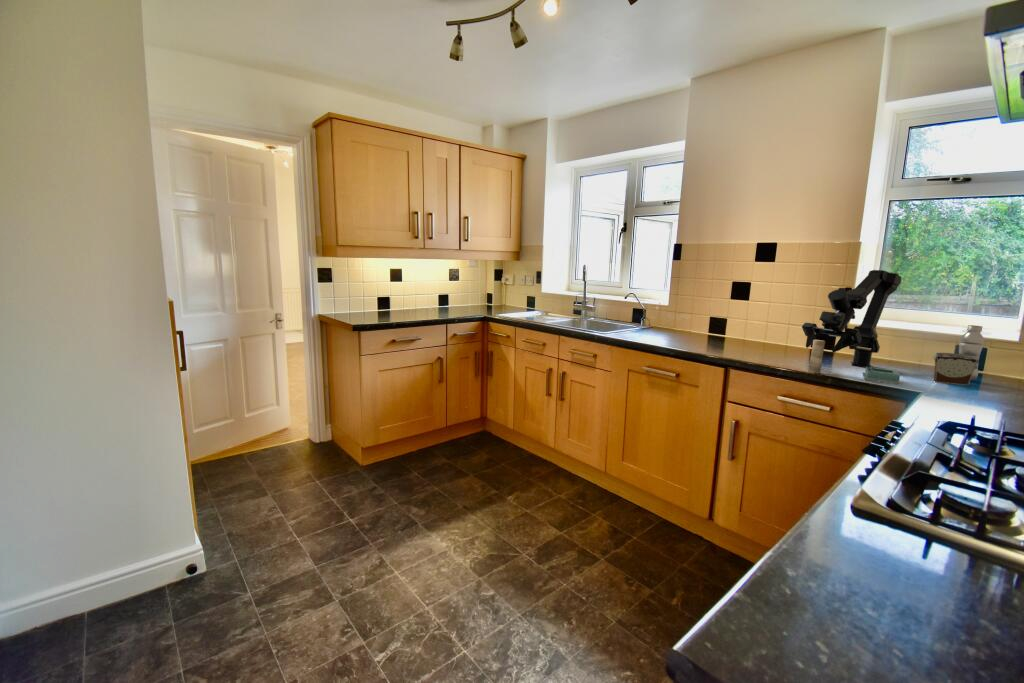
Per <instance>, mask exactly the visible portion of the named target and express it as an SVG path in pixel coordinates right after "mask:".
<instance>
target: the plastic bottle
mask: <svg viewBox="0 0 1024 683" xmlns="http://www.w3.org/2000/svg"><path fill="white" fill-rule="evenodd" d="M966 331H967V332H965V333H964V334H963V335H961V336H960V337H959V340H958V341H959V345H958V354H962V355H968V356H973V357H978V360H980V356H981V352H982V350H983V348H984V345H985V342H986V341H985V338H984V336H983V335H982V334H981V332H983V326H982V325H975V324H974V325H967V328H966ZM978 368H979V364H978V363H976V366H975V368H974V371H973V374H972V377H971V380H970V382H971V381H975V380H977V378H978V376H979V369H978Z"/></svg>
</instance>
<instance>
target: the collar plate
mask: <svg viewBox="0 0 1024 683" xmlns="http://www.w3.org/2000/svg"><path fill="white" fill-rule="evenodd" d="M862 374H863V375H862V377H863V379H866V380H865V381H868V380H872V381H871V382H876V381H880V382H879V383H883V382H886V383H885V384H890V383H894V384H893V385H897V384H901V385H902V381H901V380H900V377H901V374H900V373H899V372H898V371H897V370H896V369H895V370H894V369H889V368H882V367H881V368H880V367H873V366H872V367H865V372H862Z"/></svg>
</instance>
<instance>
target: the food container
mask: <svg viewBox="0 0 1024 683" xmlns="http://www.w3.org/2000/svg"><path fill="white" fill-rule="evenodd" d="M932 360H934V369H933V370H934V372H933V382H934V381H935V382H934V383H939V382H943V383H942V384H949V383H951V385H959V384H961V385H962V386H969V384H970V382H971V381H972V380H971V377H972V374H973V371H974V368H975V366H976V363H978V365H979V363H980V362H979V360H980V359H979V360H978V357H973V356H968V355H962V354H959V353H951V352H936V353H935V354H934V355H933V356H932ZM970 380H971V381H970Z"/></svg>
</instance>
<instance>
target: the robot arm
mask: <svg viewBox="0 0 1024 683" xmlns="http://www.w3.org/2000/svg"><path fill="white" fill-rule="evenodd" d="M901 283H902V276H901V275H899V273H897V272H888V271H886V270H883V269H873V270H869V272H868V275H866V276H865V278H864V279H862V281H861V282H860V283H859V284H858V285H856V287H854V288H853V289H849V290H847V289H846V288H845V287H839V288H838V289H834V290H833V291H831V292H829V293H828V295H827V299H828V300H829V303H830V306H831V309H833V310H834V312H833V311H822V312H821V313H820V316H819V321H821V322H822V323H821V326H822V327H818V326H817V323H815V322H804V323H803V324H802V326H801V328H802V332H803V333H804V335H805V337H806V342H805V348H806V349H808V348H810V347H811V345H813V340H817V338H818V336H819V335H820V334H821V335H826V336H827V335H828V336H829V337H837V338H839V340H838V341H837V342H836V344H835V345H834V347H833V348H832V351H831V352H832V353H836V352H838V351H841V350H842V349H845V348H847V347H848V348H849V350H854V351H853V358H852V361H850V365H851V364H852V365H851V366H855V365H856V366H857V367H863V366H864V367H865V368H866V367H873V366H872V364H871V361H872V355H873V353H874V354H875V353H876V354H878V353H879V351H880V348H881V346H880V343H879V340H878V337H879V336H878V333H877V331H876V330H877V326H878V323H879V320H880V318H881V316H882V313H883V310H884V308H885V305H886V303H887V302H888V298H889V296H890V295H892V294H893V293H894V292H897V289H898V288H899V286H900V285H901ZM872 292H873V295H872V297H871V299H870V302H869V303H868V299H867V298H868V296H869V295H870V294H871V293H872ZM867 303H868V307H867V309H866V312H865V315H864V316H863V319H862V321H861V324H860V325H858V326H853V328H852V327H849V326H848V324H849V322H850V321H851V319H852V320H855V319H856V315H855V313H856V311H855V310H862V309H863V308H864V307H865V306H866V304H867Z"/></svg>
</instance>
